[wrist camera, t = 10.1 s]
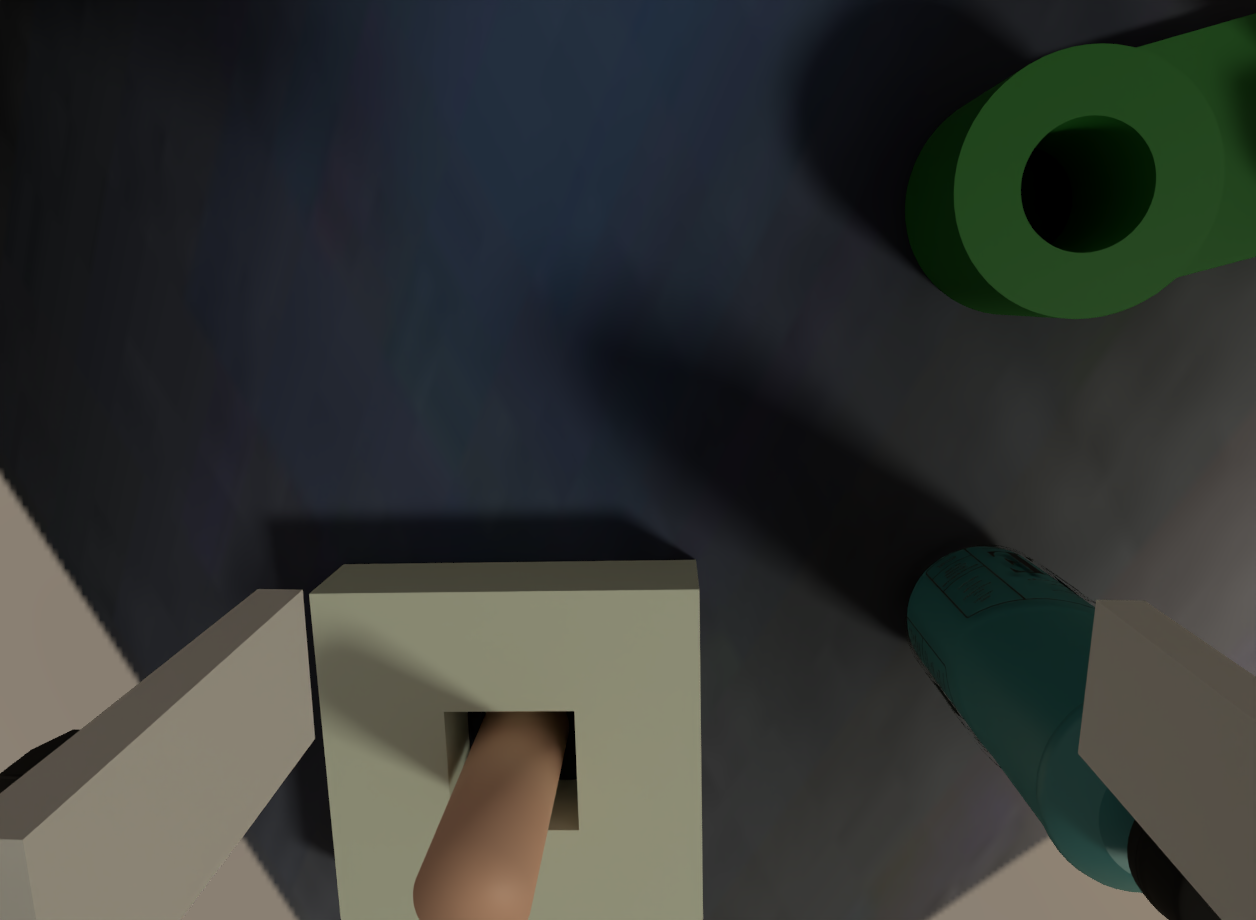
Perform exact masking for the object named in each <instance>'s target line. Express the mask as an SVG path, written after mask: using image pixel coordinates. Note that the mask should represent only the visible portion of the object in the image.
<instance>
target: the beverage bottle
mask: <svg viewBox="0 0 1256 920" xmlns="http://www.w3.org/2000/svg"><path fill="white" fill-rule="evenodd" d="M978 546H987V545H978ZM991 546H997V545H991ZM1001 547H1003V546H1001ZM1006 548H1008V547H1006ZM1010 549H1011V548H1010ZM1013 550H1014V549H1013ZM1016 551H1017V550H1016ZM1014 552H1015V551H1014ZM1014 552H1011V551H1008V550H1005V549H1004V548H1002V549H1001V548H996V547H975V546H972V547H971V548H970V547H967V548H964V549H961V550H958V551H955V552H953V553H950V554H948V555H946V556H944V557H943V558H941V559H939V560H938V561H936V562H935V563H934V564H932V565H931V566H930V567H929V568H928V569H927V570H926V571H925V572H924V573H923V574H922V576H921V577H920V578H919V580H918V581H917V583H916V585H915V587H914V589H913V591H912V593H911V596H910V599H909V604H908V613H907V616H906V618H907V624H908V634H909V637H910V639H909V642H910V640H911V643H912V644H910V645H913V647H911V648H914V649H915V650H913V651H915V652H916V654H917V655H918V657H919V658H920V659H919V660H921V661H922V663H924V665H925V667H927V669H928V670H929V672H930V674H932V676H933V677H934V679H935V680H936V681H937V682H936V681H935V682H936V683H938V684H939V686H940V687H939V686H938V684H936V683H935V682H934V681H933V682H934V685H936V686H937V687H936V688H938V689H939V692H941V693H942V694H941V695H943V696H944V699H946V700H947V701H946V702H948V703H949V706H951V707H952V708H951V709H953V710H954V711H955V712H956V713H957V714H958V716H960V715H959V713H960V714H961V716H962V717H963V719H964V720H965V721H966V722H967V724H968V725H969V727H970V728H971V729H972V731H973V732H974V733H975V735H976V736H977V737H975V739H976V738H977V740H978V739H979V740H980V742H981V743H982V744H983V745H984V746H983V747H984V748H985V749H987V750H988V751H989V753H990V754H991V755H992V756H993V757H994V759H995V760H996V761H997V763H998V764H999V767H1000V768H1002V770H1003V771H1004V772H1005V774H1006V775H1007V776H1008V778H1009V779H1010V781H1011V782H1012V783H1013V785H1014V786H1015V787H1016V789H1017V790H1018V791H1019V793H1020V794H1021V796H1022V797H1023V798H1024V800H1025V801H1026V802H1027V804H1028V805H1029V806H1030V808H1031V809H1032V811H1033V812H1034V813H1035V815H1036V816H1037V817H1038V819H1039V820H1040V821H1041V823H1042V824H1043V826H1044V828H1045V830H1046V832H1047V834H1048V836H1049V837H1050V839H1051V840H1052V842H1053V843H1054V845H1055V846H1056V848H1057V849H1058V850H1059V852H1060V853H1061V854H1062V855H1063V856H1064V857H1065V858H1066V860H1067V861H1068V862H1070V863H1071V864H1072V865H1073V866H1074V867H1075V868H1077V869H1078V870H1079V871H1081V872H1082V873H1084V874H1086V875H1087V876H1089V877H1091V878H1092V879H1094V880H1096V881H1098V882H1100V883H1102V884H1103V885H1107V886H1109V887H1113V888H1115V889H1120V890H1124V891H1129V892H1141V893H1143V894H1144V895H1145V896H1146V898H1147V899H1148V900H1149V901H1150V903H1151V904H1152V905H1153V906H1154V907H1155V908H1156V909H1157V910H1158V911H1159V912H1160V913H1161V914H1162V915H1164V916H1165V917H1166V918H1167V919H1169V920H1221V919H1220V917H1219V916H1218V915H1217V914H1216V913H1215V912H1214V911H1213V909H1212V908H1211V907H1210V906H1209V905H1208V904H1207V902H1206V901H1205V900H1204V899H1203V898H1202V897H1201V895H1200V894H1199V893H1198V892H1197V891H1196V890H1195V888H1194V887H1193V886H1192V885H1191V884H1190V883H1189V882H1188V880H1187V879H1186V878H1185V877H1184V876H1183V875H1182V873H1181V872H1180V871H1179V870H1178V869H1177V868H1176V866H1175V865H1174V864H1173V863H1172V862H1171V861H1170V859H1169V858H1168V857H1167V856H1166V855H1165V854H1164V853H1163V851H1162V850H1161V849H1160V848H1159V847H1158V846H1157V844H1156V843H1155V842H1154V841H1153V840H1152V839H1151V837H1150V836H1149V835H1148V834H1147V833H1146V832H1145V830H1144V829H1143V828H1142V827H1141V826H1140V825H1139V824H1138V822H1137V821H1136V820H1135V819H1134V818H1133V817H1132V815H1131V814H1130V813H1129V812H1128V811H1127V810H1126V808H1125V807H1124V806H1123V805H1122V804H1121V803H1120V801H1119V800H1118V799H1117V798H1116V797H1115V796H1114V795H1113V793H1112V792H1111V791H1110V790H1109V789H1108V788H1107V786H1106V785H1105V784H1104V783H1103V782H1102V781H1101V779H1100V778H1099V777H1098V776H1097V775H1096V774H1095V772H1094V771H1093V770H1092V769H1091V768H1090V767H1089V766H1088V764H1087V763H1086V762H1085V761H1084V760H1083V759H1082V757H1081V756H1080V755H1079V754H1078V748H1079V740H1080V731H1081V723H1082V714H1083V706H1084V698H1085V689H1086V681H1087V673H1088V664H1089V656H1090V648H1091V639H1092V631H1093V622H1094V614H1095V607H1094V606H1092V605H1091V604H1089V603H1088V602H1086V601H1085V600H1087V599H1085V600H1084V599H1083V598H1081V597H1079V596H1078V595H1077V594H1076V593H1077V592H1076V593H1075V592H1074V591H1076V590H1077V589H1076V588H1075V589H1076V590H1074V591H1072V590H1071V589H1070V588H1069V587H1070V586H1071V585H1070V584H1069V585H1070V586H1069V587H1067V586H1068V585H1065V584H1064V583H1062V582H1061V581H1060V580H1059V579H1057V578H1056V577H1055V576H1054V577H1055V578H1056V579H1057V580H1058V581H1059V582H1058V581H1057V580H1055V579H1054V578H1052V577H1051V576H1050V575H1048V574H1047V573H1045V572H1044V571H1042V570H1041V569H1039V568H1038V567H1037V566H1035V565H1034V564H1032V563H1031V562H1029V561H1028V560H1026V559H1025V558H1023V557H1022V556H1020V555H1019V554H1016V553H1014ZM1018 553H1019V552H1018ZM1020 554H1021V553H1020ZM1025 556H1026V554H1025ZM1025 556H1024V557H1025ZM1026 558H1027V559H1029V560H1030V561H1032V559H1030V557H1029V558H1028V557H1026ZM1033 561H1034V560H1033ZM1033 561H1032V562H1033ZM1040 565H1041V564H1040ZM1041 566H1042V565H1041ZM1043 567H1044V566H1043ZM1046 569H1047V568H1046ZM1044 570H1045V569H1044ZM1047 570H1048V569H1047ZM1045 571H1046V570H1045ZM1048 571H1049V570H1048ZM1050 572H1051V571H1050ZM1049 574H1050V573H1049ZM1053 574H1054V573H1053ZM1056 576H1057V575H1056ZM1057 577H1058V576H1057ZM1059 578H1060V577H1059ZM1060 579H1061V578H1060ZM1063 581H1064V580H1063ZM1066 583H1067V582H1066ZM1072 587H1073V586H1072ZM1073 588H1074V587H1073ZM1077 591H1078V590H1077ZM1079 593H1081V592H1079ZM1079 593H1078V594H1079ZM1081 594H1082V593H1081ZM1080 596H1081V595H1080ZM1085 597H1086V596H1085ZM1087 598H1089V597H1087ZM1088 601H1089V600H1088ZM1091 601H1092V600H1091ZM1093 603H1094V602H1093ZM1095 604H1096V602H1095ZM906 618H905V629H906ZM906 636H907V634H906ZM907 641H908V639H907ZM911 648H910V649H911ZM914 654H915V653H914ZM914 657H915V656H914ZM916 660H917V659H916ZM920 663H921V662H920ZM920 663H919V664H920ZM921 665H922V664H921ZM924 665H923V666H924ZM921 667H922V666H921ZM925 667H924V668H925ZM927 669H926V670H927ZM924 671H925V670H924ZM927 673H928V672H927ZM927 673H926V674H927ZM930 674H928V675H930ZM932 676H931V677H932ZM929 678H930V676H929ZM930 679H931V678H930ZM932 679H933V678H932ZM931 681H932V680H931ZM941 688H942V689H943V691H944V692H945V694H946V695H945V694H944V693H943V691H942V690H941ZM946 696H948V697H946ZM948 698H949V699H950V700H951V702H950V701H949V700H948ZM951 703H952V704H953V705H954V706H955V707H956V708H954V706H953V705H952V704H951ZM956 709H957V710H958V711H959V713H958V712H957V710H956ZM955 712H954V713H955ZM956 716H957V715H956ZM961 716H960V717H961ZM962 717H961V718H962ZM959 720H960V719H959ZM961 723H963V722H961ZM963 725H964V724H963ZM964 727H965V726H964ZM967 727H968V726H967ZM967 727H966V728H967ZM970 728H969V729H970ZM969 729H968V730H969ZM971 729H970V730H971ZM968 733H969V732H968ZM974 733H973V734H974ZM978 743H979V742H978ZM976 744H977V743H976ZM980 745H981V744H980ZM984 748H983V749H984ZM985 749H984V750H985ZM981 750H982V749H981ZM985 751H986V750H985ZM988 751H987V752H988ZM991 760H992V759H991ZM992 761H993V760H992ZM993 762H994V761H993ZM994 763H995V762H994ZM995 764H996V763H995Z"/></svg>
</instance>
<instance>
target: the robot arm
mask: <svg viewBox="0 0 1256 920" xmlns="http://www.w3.org/2000/svg"><path fill="white" fill-rule="evenodd" d="M314 739H315V732H314V720H313V708H312V696H311V684H310V672H309V660H308V648H307V636H306V624H305V612H304V600H303V590H286V589H257V590H256V591H255V592H254V593H252V594H251V595H250V596H249V597H247V598H246V599H245V600H244V601H242V602H241V603H240V604H239V605H237V606H236V607H235V608H233V609H232V610H231V611H230V612H228V613H227V614H226V615H225V616H223V617H222V618H221V619H220V620H218V621H217V622H216V623H215V624H213V625H212V626H211V627H210V628H208V629H207V630H206V631H204V632H203V633H202V634H201V635H199V636H198V637H197V638H196V639H194V640H193V641H192V642H191V643H189V644H188V645H187V646H186V647H184V648H183V649H182V650H181V651H179V652H178V653H177V654H175V655H174V656H173V657H172V658H170V659H169V660H168V661H167V662H165V663H164V664H163V665H162V666H160V667H159V668H158V669H157V670H155V671H154V672H153V673H152V674H150V675H149V676H148V677H146V678H145V679H144V680H143V681H141V682H140V683H139V684H138V685H136V686H135V687H134V688H133V689H131V690H130V691H129V692H128V693H126V694H125V695H124V696H123V697H121V698H120V699H119V700H117V701H116V702H115V703H114V704H112V705H111V706H110V707H109V708H107V709H106V710H105V711H104V712H102V713H101V714H100V715H99V716H97V717H96V718H95V719H94V720H92V721H91V722H90V723H88V724H87V725H86V726H85V727H83V728H82V729H81V730H71V731H69V732H67V733H65V734H63V735H61V736H59V737H57V738H55V739H53V740H51V741H49V742H47V743H44V744H42V745H40V746H39V747H36V748H34V749H32V750H30V751H29V752H28V753H26V754H25V755H24V756H23V757H21V758H20V759H19V760H17V761H16V762H15V763H13V764H12V765H11V766H9V767H8V768H7V769H6V770H4V771H3V772H2V773H0V920H182V918H183V917H184V916H185V914H186V913H187V912H188V910H189V909H190V908H191V906H192V904H194V902H195V901H196V899H197V898H198V897H199V895H200V894H201V893H202V891H203V890H204V889H205V887H206V886H207V885H208V883H209V882H210V880H211V879H212V878H213V876H214V875H215V874H216V872H217V871H218V870H219V868H220V867H221V866H222V864H223V863H224V861H225V860H226V859H227V857H228V856H229V855H230V853H231V852H232V851H233V849H234V848H235V846H236V845H237V844H238V843H239V841H240V840H241V838H242V837H243V836H244V834H245V833H246V832H247V830H248V829H249V828H250V826H251V825H252V824H253V822H254V821H255V819H256V818H257V817H258V815H259V814H260V813H261V811H262V810H263V809H264V807H265V806H266V805H267V803H268V802H269V800H270V799H271V798H272V796H273V795H274V794H275V792H276V791H277V790H278V788H279V787H280V786H281V784H282V783H283V781H284V780H285V779H286V777H287V776H288V775H289V773H290V772H291V771H292V769H293V768H294V767H295V765H296V764H297V762H298V761H299V760H300V758H301V757H302V756H303V754H304V753H305V752H306V750H307V749H308V748H309V746H310V745H311V743H312V742H313V741H314ZM1078 754H1079V755H1080V756H1081V757H1082V759H1083V760H1084V761H1085V762H1086V763H1087V764H1088V766H1089V767H1090V768H1091V769H1092V770H1093V771H1094V772H1095V774H1096V775H1097V776H1098V777H1099V778H1100V779H1101V781H1102V782H1103V783H1104V784H1105V785H1106V786H1107V788H1108V789H1109V790H1110V791H1111V792H1112V793H1113V795H1114V796H1115V797H1116V798H1117V799H1118V800H1119V801H1120V803H1121V804H1122V805H1123V806H1124V807H1125V808H1126V810H1127V811H1128V812H1129V813H1130V814H1131V815H1132V817H1133V818H1134V819H1135V820H1136V821H1137V822H1138V824H1139V825H1140V826H1141V827H1142V828H1143V829H1144V830H1145V832H1146V833H1147V834H1148V835H1149V836H1150V837H1151V839H1152V840H1153V841H1154V842H1155V843H1156V844H1157V846H1158V847H1159V848H1160V849H1161V850H1162V851H1163V853H1164V854H1165V855H1166V856H1167V857H1168V858H1169V859H1170V861H1171V862H1172V863H1173V864H1174V865H1175V866H1176V868H1177V869H1178V870H1179V871H1180V872H1181V873H1182V875H1183V876H1184V877H1185V878H1186V879H1187V880H1188V882H1189V883H1190V884H1191V885H1192V886H1193V887H1194V888H1195V890H1196V891H1197V892H1198V893H1199V894H1200V895H1201V897H1202V898H1203V899H1204V900H1205V901H1206V902H1207V904H1208V905H1209V906H1210V907H1211V908H1212V909H1213V911H1214V912H1215V913H1216V914H1217V915H1218V916H1219V917H1220V919H1221V920H1256V677H1255V676H1253V675H1252V674H1251V673H1249V672H1248V671H1246V670H1245V669H1243V668H1242V667H1240V666H1239V665H1237V664H1236V663H1234V662H1233V661H1232V660H1230V659H1229V658H1227V657H1226V656H1224V655H1223V654H1221V653H1220V652H1218V651H1217V650H1216V649H1214V648H1213V647H1211V646H1210V645H1208V644H1207V643H1205V642H1204V641H1202V640H1201V639H1199V638H1198V637H1197V636H1195V635H1194V634H1192V633H1191V632H1189V631H1188V630H1186V629H1185V628H1183V627H1182V626H1180V625H1179V624H1178V623H1176V622H1175V621H1173V620H1172V619H1170V618H1169V617H1167V616H1166V615H1164V614H1163V613H1162V612H1160V611H1159V610H1157V609H1156V608H1154V607H1153V606H1151V605H1150V604H1148V603H1147V602H1145V601H1138V600H1096V606H1095V614H1094V622H1093V631H1092V639H1091V648H1090V656H1089V664H1088V673H1087V681H1086V689H1085V698H1084V706H1083V714H1082V723H1081V731H1080V740H1079V748H1078Z"/></svg>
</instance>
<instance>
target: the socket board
mask: <svg viewBox="0 0 1256 920" xmlns="http://www.w3.org/2000/svg"><path fill="white" fill-rule="evenodd" d="M309 598H310V608H311V619H312V629H313V639H314V649H315V659H316V670H317V680H318V690H319V700H320V710H321V721H322V731H323V741H324V751H325V762H326V772H327V782H328V792H329V802H330V813H331V823H332V833H333V843H334V853H335V864H336V874H337V884H338V894H339V904H340V915H341V920H419V918H418V916H417V914H416V911H415V908H414V903H413V888H414V883H415V880H416V877H417V875H418V872H419V870H420V868H421V865H422V863H423V861H424V858H425V856H426V854H427V851H428V849H429V846H430V844H431V842H432V839H433V837H434V835H435V832H436V830H437V827H438V825H439V823H440V820H441V818H442V816H443V813H444V811H445V809H446V806H447V804H448V801H449V799H450V797H451V794H452V792H453V790H454V787H455V785H456V783H457V780H458V778H459V775H460V773H461V771H462V768H463V766H464V764H465V761H466V759H467V757H468V754H469V752H470V742H469V727H468V712H500V711H574V716H575V741H576V766H577V779H574V780H559V781H558V786H557V790H556V795H555V800H554V804H553V809H552V814H551V818H550V823H549V828H548V832H547V837H546V842H545V846H544V851H543V855H542V860H541V865H540V869H539V874H538V879H537V883H536V888H535V893H534V897H533V902H532V907H531V911H530V915H529V918H528V920H703V885H702V794H701V703H700V612H699V583H698V575H697V566H696V560H641V561H562V562H483V563H404V564H344V565H342V566H341V567H340V568H339V569H338V570H337V571H335V572H334V573H333V574H332V575H331V576H329V577H328V578H327V579H326V580H325V581H324V582H322V583H321V584H320V585H319V586H318V587H317V588H315V589H314V590H313V591H312V592H311V593H309Z"/></svg>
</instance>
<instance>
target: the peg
mask: <svg viewBox="0 0 1256 920" xmlns="http://www.w3.org/2000/svg"><path fill="white" fill-rule="evenodd" d="M568 734H569V720H568V716H567V713H566V711H500V712H486V714H485V716H484V719H483V721H482V723H481V726H480V728H479V730H478V733H477V735H476V738H475V740H474V742H473V745H472V747H471V749H470V752H469V754H468V757H467V759H466V761H465V764H464V766H463V768H462V771H461V773H460V775H459V778H458V780H457V783H456V785H455V787H454V790H453V792H452V794H451V797H450V799H449V801H448V804H447V806H446V809H445V811H444V813H443V816H442V818H441V820H440V823H439V825H438V827H437V830H436V832H435V835H434V837H433V839H432V842H431V844H430V846H429V849H428V851H427V854H426V856H425V858H424V861H423V863H422V865H421V868H420V870H419V872H418V875H417V877H416V880H415V883H414V888H413V903H414V908H415V911H416V914H417V916H418V918H419V920H528V918H529V915H530V911H531V907H532V902H533V897H534V893H535V888H536V883H537V879H538V874H539V869H540V865H541V860H542V855H543V851H544V846H545V842H546V837H547V832H548V828H549V823H550V818H551V814H552V809H553V804H554V800H555V795H556V790H557V786H558V781H559V776H560V772H561V767H562V762H563V758H564V753H565V749H566V744H567V739H568Z"/></svg>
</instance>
